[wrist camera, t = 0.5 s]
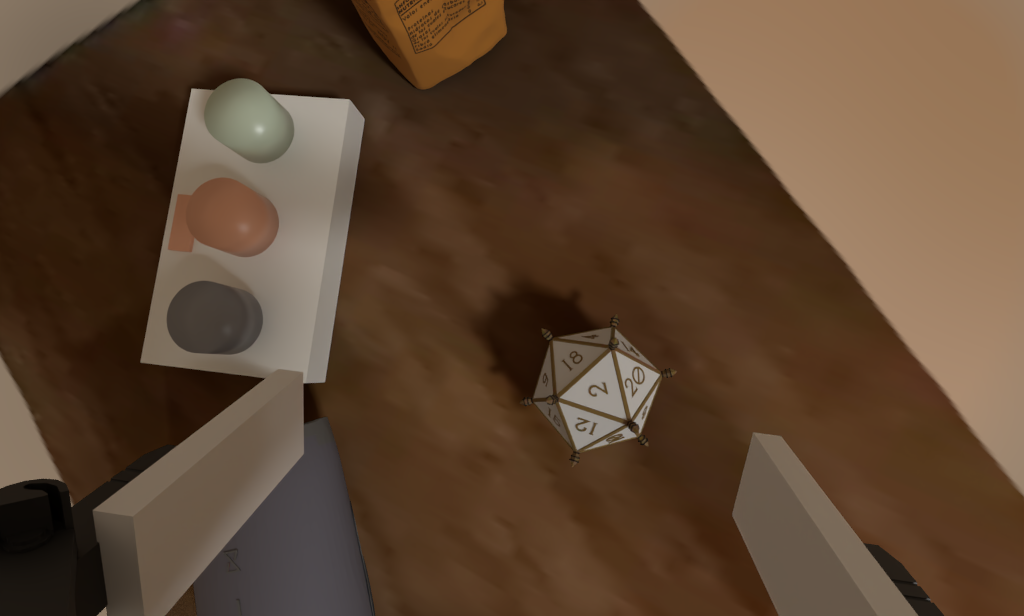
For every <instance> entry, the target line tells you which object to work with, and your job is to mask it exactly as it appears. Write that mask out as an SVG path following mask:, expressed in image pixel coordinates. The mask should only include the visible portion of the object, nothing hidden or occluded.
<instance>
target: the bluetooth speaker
mask: <svg viewBox="0 0 1024 616" xmlns="http://www.w3.org/2000/svg"><path fill="white" fill-rule="evenodd" d="M193 586H194V594H195V603H196V610H197V616H375V611H374V605H373V599H372V594H371V588H370V583H369V578H368V574H367V570H366V565H365V561H364V558H363V556H362V551H361V546H360V542H359V537H358V532H357V528H356V523H355V519H354V514H353V510H352V506H351V501H350V500H349V495H348V491H347V487H346V483H345V478H344V474H343V470H342V465H341V461H340V457H339V453H338V450H337V446H336V443H335V439H334V436H333V433H332V430H331V427H330V424H329V421H328V418H327V417H324V418H319V419H316V420H313V421H310V422H307V423H304V454H303V455H302V457H301V458H300V459H299V460H298V461H297V462H296V464H295V465H294V466H293V467H292V468H291V469H290V471H289V472H288V473H287V474H286V475H285V476H284V478H283V479H282V480H281V481H280V482H279V483H278V485H277V486H276V487H275V488H274V489H273V490H272V491H271V493H270V494H269V495H268V496H267V497H266V498H265V500H264V501H263V502H262V503H261V504H260V505H259V507H258V508H257V509H256V510H255V511H254V512H253V514H252V515H251V516H250V517H249V518H248V519H247V521H246V522H245V523H244V524H243V525H242V526H241V528H240V529H239V530H238V531H237V532H236V533H235V535H234V536H233V537H232V538H231V539H230V540H229V542H228V543H227V544H226V545H225V546H224V547H223V549H222V550H221V551H220V552H219V553H218V554H217V556H216V557H215V558H214V559H213V560H212V561H211V563H210V564H209V565H208V566H207V567H206V568H205V570H204V571H203V572H202V573H201V574H200V575H199V577H198V578H197V579H196V580H195V581H194V582H193Z"/></svg>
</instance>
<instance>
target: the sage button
mask: <svg viewBox="0 0 1024 616" xmlns="http://www.w3.org/2000/svg"><path fill="white" fill-rule="evenodd" d="M204 120H205V124H206V127H207V129H208V131H209V133H210V134H211V135H212V136H213V137H214V138H215V139H216V140H218V141H219V142H221V143H222V144H224V145H225V146H226V147H228V148H229V149H231V150H232V151H234V152H235V153H237V154H238V155H240V156H241V157H243V158H244V159H246V160H248V161H250V162H253V163H268V162H271V161H274V160H276V159H278V158H279V157H281V156H282V155H283V154H284V153H285V152H286V151H287V150H288V148H289V147H290V145H291V143H292V140H293V137H294V123H293V119H292V117H291V115H290V114H289V112H288V111H287V110H286V109H285V108H284V107H283V106H282V105H281V104H280V103H279V102H278V101H277V100H276V99H275V98H273V97H272V96H271V95H270V94H269V93H268V92H267V91H266V90H265V89H264V88H263V87H262V86H261V85H260V84H258V83H257V82H255V81H252V80H249V79H243V78H239V79H233V80H229V81H227V82H225V83H223V84H221V85H220V86H219V87H217V88H216V89H215V90H214V91H213V92H212V94H211V95H210V97H209V99H208V100H207V103H206V106H205V111H204Z"/></svg>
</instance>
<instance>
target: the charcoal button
mask: <svg viewBox="0 0 1024 616" xmlns="http://www.w3.org/2000/svg"><path fill="white" fill-rule="evenodd" d="M262 325H263V313H262V309H261V306H260V304H259V302H258V301H257V299H256V298H255V297H254V296H253V295H252V294H250V293H249V292H247V291H245V290H242V289H239V288H235V287H231V286H227V285H223V284H219V283H215V282H211V281H197V282H193V283H190V284H188V285H186V286H185V287H183V288H182V289H181V290H180V291H178V293H177V294H176V295H175V296H174V298H173V299H172V301H171V303H170V305H169V308H168V311H167V328H168V332H169V334H170V336H171V338H172V340H173V341H174V342H175V343H176V344H177V345H178V346H179V347H180V348H182V349H183V350H185V351H188V352H191V353H202V354H223V355H233V354H238V353H241V352H243V351H245V350H246V349H248V348H249V347H250V346H251V345H253V343H254V342H255V341H256V340H257V338H258V336H259V334H260V332H261V329H262Z"/></svg>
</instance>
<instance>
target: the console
mask: <svg viewBox="0 0 1024 616" xmlns="http://www.w3.org/2000/svg"><path fill="white" fill-rule="evenodd" d="M213 91H214V90H205V89H191V95H190V100H189V105H188V111H187V116H186V121H185V127H184V132H183V137H182V143H181V148H180V153H179V159H178V164H177V169H176V175H175V180H174V185H173V191H172V196H171V201H170V207H169V212H168V217H167V223H166V228H165V233H164V239H163V244H162V249H161V255H160V260H159V265H158V271H157V276H156V281H155V287H154V292H153V297H152V302H151V308H150V313H149V318H148V324H147V329H146V334H145V340H144V345H143V350H142V356H141V361H140V363H148V364H156V365H164V366H172V367H180V368H188V369H196V370H204V371H212V372H220V373H228V374H236V375H244V376H252V377H260V378H267V377H268V376H269V375H271V374H272V373H273V372H275V371H276V370H277V369H283V370H291V371H298V372H303V383H320V382H325V379H326V372H327V366H328V359H329V352H330V346H331V339H332V332H333V326H334V319H335V313H336V306H337V299H338V293H339V286H340V280H341V273H342V266H343V260H344V253H345V247H346V240H347V233H348V227H349V220H350V213H351V207H352V200H353V194H354V187H355V180H356V174H357V167H358V161H359V154H360V147H361V141H362V134H363V128H364V121H365V119H364V118H363V116H362V115H361V114H360V112H359V111H358V110H357V108H356V107H355V106H354V105H353V103H352V102H351V101H350V100H348V99H333V98H319V97H305V96H290V95H276V94H270V95H271V96H272V97H273V98H275V99H276V100H277V101H278V102H279V103H280V104H281V105H282V106H283V107H284V108H285V109H286V110H287V111H288V112H289V114H290V115H291V117H292V119H293V123H294V137H293V140H292V143H291V145H290V147H289V148H288V150H287V151H286V152H285V153H284V154H283V155H282V156H281V157H279V158H278V159H276V160H274V161H271V162H268V163H253V162H250V161H248V160H246V159H244V158H243V157H241V156H240V155H238V154H237V153H235V152H234V151H232V150H231V149H229V148H228V147H226V146H225V145H224V144H222V143H221V142H219V141H218V140H216V139H215V138H214V137H213V136H212V135H211V134H210V133H209V131H208V129H207V127H206V124H205V120H204V111H205V106H206V103H207V100H208V99H209V97H210V95H211V94H212V92H213ZM221 177H222V178H231V179H234V180H236V181H238V182H240V183H242V184H243V185H245V186H247V187H249V188H250V189H252V190H254V191H255V192H257V193H259V194H260V195H262V196H264V197H265V198H267V199H268V200H269V201H271V203H272V204H273V205H274V207H275V208H276V210H277V213H278V217H279V228H278V232H277V235H276V237H275V239H274V241H273V243H272V244H271V245H270V246H269V247H268V248H267V249H266V250H265V251H263V252H262V253H260V254H258V255H255V256H252V257H238V256H235V255H232V254H229V253H226V252H223V251H221V250H218V249H215V248H212V247H209V246H207V245H204V244H202V243H200V242H199V241H197V240H196V239H195V238H194V237H193V236H192V234H191V233H190V231H189V229H188V226H187V223H186V208H187V204H188V202H189V199H190V197H191V196H192V194H193V193H194V191H195V190H196V189H197V188H198V187H199V186H200V185H202V184H203V183H205V182H207V181H209V180H211V179H215V178H221ZM197 281H211V282H215V283H219V284H223V285H227V286H231V287H235V288H239V289H242V290H245V291H247V292H249V293H250V294H252V295H253V296H254V297H255V298H256V299H257V301H258V302H259V304H260V306H261V309H262V313H263V325H262V329H261V332H260V334H259V336H258V338H257V340H256V341H255V342H254V343H253V345H251V346H250V347H249V348H248V349H246V350H245V351H243V352H241V353H238V354H233V355H223V354H202V353H191V352H188V351H185V350H183V349H182V348H180V347H179V346H178V345H177V344H176V343H175V342H174V341H173V340H172V338H171V336H170V334H169V332H168V328H167V311H168V308H169V305H170V303H171V301H172V299H173V298H174V296H175V295H176V294H177V293H178V291H180V290H181V289H182V288H183V287H185V286H186V285H188V284H190V283H193V282H197Z"/></svg>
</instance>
